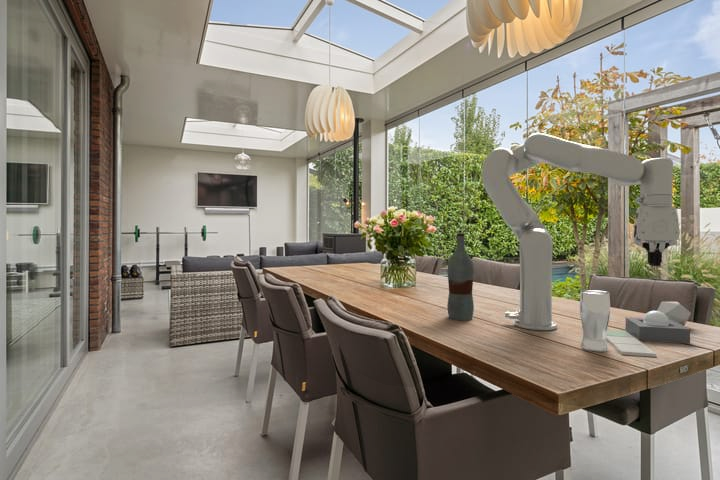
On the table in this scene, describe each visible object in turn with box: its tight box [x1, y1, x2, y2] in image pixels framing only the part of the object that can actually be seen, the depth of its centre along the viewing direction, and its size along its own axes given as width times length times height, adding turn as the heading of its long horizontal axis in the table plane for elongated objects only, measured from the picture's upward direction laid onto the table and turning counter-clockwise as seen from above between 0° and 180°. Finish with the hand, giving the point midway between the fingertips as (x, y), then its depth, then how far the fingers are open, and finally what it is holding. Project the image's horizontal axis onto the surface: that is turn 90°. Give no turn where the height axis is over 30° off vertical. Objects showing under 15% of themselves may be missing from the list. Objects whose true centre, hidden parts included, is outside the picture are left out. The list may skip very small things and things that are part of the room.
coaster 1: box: [606, 329, 634, 337], centre depth 121 cm, size 8×8×1 cm
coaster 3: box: [612, 343, 657, 358], centre depth 106 cm, size 8×8×1 cm
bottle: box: [446, 232, 475, 321], centre depth 145 cm, size 9×9×30 cm
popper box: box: [624, 316, 691, 345], centre depth 119 cm, size 12×12×4 cm
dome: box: [643, 310, 669, 326], centre depth 119 cm, size 6×6×6 cm
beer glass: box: [579, 289, 611, 353], centre depth 108 cm, size 7×7×15 cm
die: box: [656, 301, 692, 327], centre depth 132 cm, size 8×9×10 cm
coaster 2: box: [606, 336, 645, 347], centre depth 113 cm, size 8×8×1 cm
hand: (654, 265), depth 118 cm, fingers closed
